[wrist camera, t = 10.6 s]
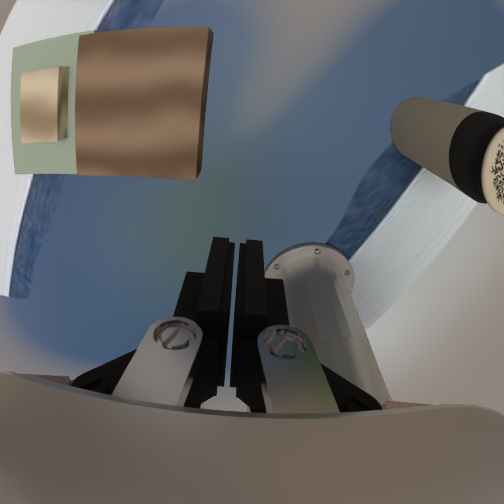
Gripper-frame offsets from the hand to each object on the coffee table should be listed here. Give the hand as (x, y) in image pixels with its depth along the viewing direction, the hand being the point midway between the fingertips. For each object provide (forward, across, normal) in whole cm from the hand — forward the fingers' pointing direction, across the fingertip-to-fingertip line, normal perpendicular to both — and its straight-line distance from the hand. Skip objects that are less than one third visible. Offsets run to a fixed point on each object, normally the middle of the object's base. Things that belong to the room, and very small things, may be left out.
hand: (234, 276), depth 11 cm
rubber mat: (+26, +25, -5) cm, 37 cm away
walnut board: (+27, +12, -5) cm, 29 cm away
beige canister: (+27, -20, -5) cm, 34 cm away
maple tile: (+24, +25, -5) cm, 35 cm away
